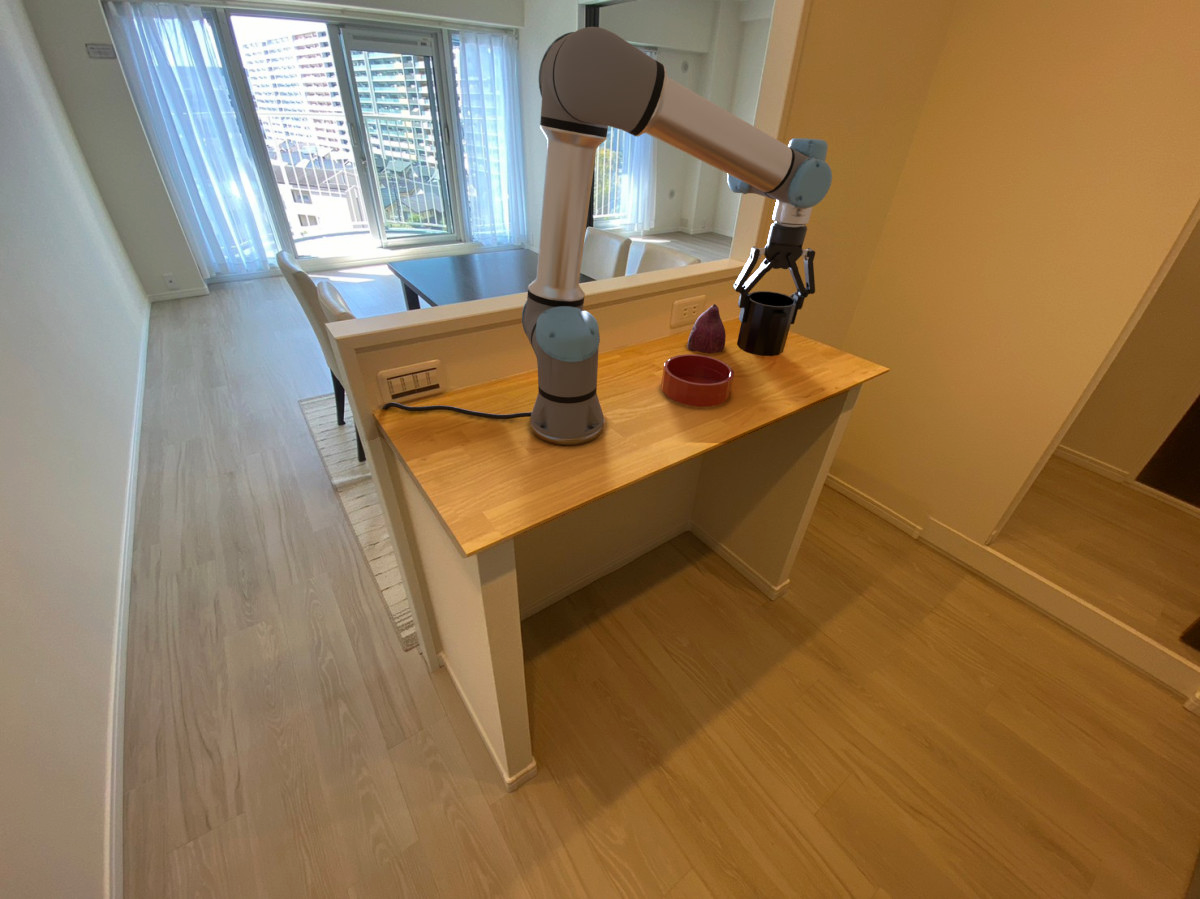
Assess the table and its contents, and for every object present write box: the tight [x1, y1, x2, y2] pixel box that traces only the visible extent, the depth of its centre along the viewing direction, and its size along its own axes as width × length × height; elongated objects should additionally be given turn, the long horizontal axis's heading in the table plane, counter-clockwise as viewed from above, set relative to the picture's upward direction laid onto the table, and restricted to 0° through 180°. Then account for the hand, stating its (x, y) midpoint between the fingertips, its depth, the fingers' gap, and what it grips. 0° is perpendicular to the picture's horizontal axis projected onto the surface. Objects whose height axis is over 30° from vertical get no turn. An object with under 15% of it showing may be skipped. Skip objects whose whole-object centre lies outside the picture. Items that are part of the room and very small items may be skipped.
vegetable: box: [686, 303, 726, 354], centre depth 134 cm, size 10×10×15 cm
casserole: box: [660, 353, 735, 408], centre depth 116 cm, size 16×16×6 cm
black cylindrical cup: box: [736, 290, 797, 357], centre depth 118 cm, size 11×14×12 cm
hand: (766, 321), depth 118 cm, fingers closed on black cylindrical cup, 11 cm apart
